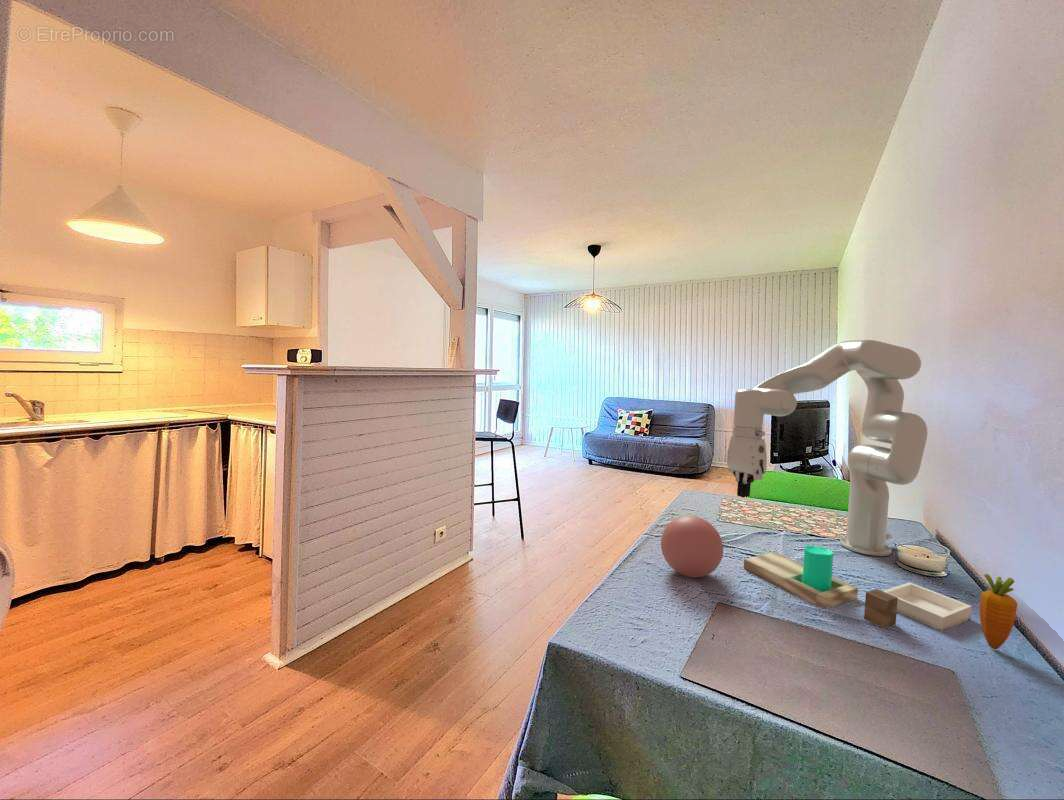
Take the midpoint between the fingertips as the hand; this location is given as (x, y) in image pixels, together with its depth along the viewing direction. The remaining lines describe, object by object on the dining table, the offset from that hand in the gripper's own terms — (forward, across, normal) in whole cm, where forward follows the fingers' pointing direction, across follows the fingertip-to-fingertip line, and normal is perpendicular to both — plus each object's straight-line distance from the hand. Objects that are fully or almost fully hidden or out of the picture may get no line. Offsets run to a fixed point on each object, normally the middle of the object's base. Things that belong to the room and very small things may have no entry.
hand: (743, 496), depth 128 cm
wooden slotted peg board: (+18, -17, 0) cm, 25 cm away
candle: (+18, -22, 0) cm, 28 cm away
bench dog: (+18, -36, 0) cm, 40 cm away
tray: (+17, -38, -14) cm, 44 cm away
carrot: (+18, -51, -11) cm, 55 cm away
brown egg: (+18, -3, +20) cm, 27 cm away
